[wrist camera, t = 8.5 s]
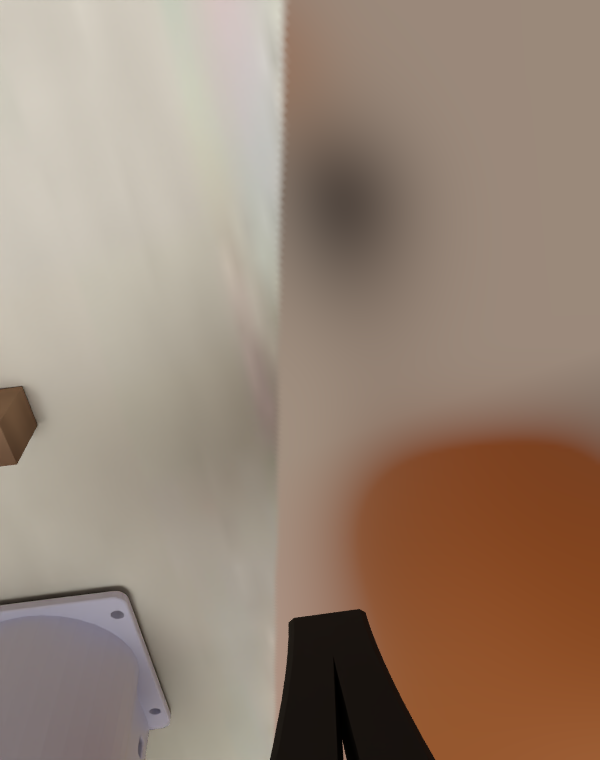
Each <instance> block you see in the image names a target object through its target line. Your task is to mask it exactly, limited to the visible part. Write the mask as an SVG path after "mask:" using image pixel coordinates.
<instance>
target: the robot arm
mask: <svg viewBox="0 0 600 760" xmlns="http://www.w3.org/2000/svg"><path fill="white" fill-rule="evenodd" d="M170 719H171V714H170V711H169V708H168V705H167V703H166V700H165V697H164V694H163V692H162V689H161V686H160V683H159V681H158V678H157V675H156V672H155V670H154V667H153V664H152V661H151V659H150V656H149V653H148V650H147V648H146V645H145V642H144V639H143V637H142V634H141V631H140V628H139V626H138V623H137V620H136V617H135V615H134V612H133V609H132V606H131V604H130V601H129V598H128V596H127V595H126V594H124V593H123V592H120V591H109V592H101V593H93V594H85V595H77V596H69V597H61V598H53V599H45V600H37V601H29V602H22V603H14V604H6V605H0V760H145V757H146V749H147V742H148V734H149V730H153V729H160V728H165V727H167V726H168V725H169V724H170ZM342 740H343V744H342ZM342 745H344V750H345V754H346V758H347V760H435V759H434V757H433V755H432V753H431V752H430V750H429V748H428V746H427V745H426V743H425V741H424V740H423V738H422V736H421V734H420V732H419V730H418V729H417V726H416V725H415V723H414V721H413V719H412V717H411V715H410V713H409V711H408V710H407V708H406V706H405V704H404V702H403V701H402V698H401V696H400V694H399V692H398V690H397V688H396V686H395V684H394V682H393V680H392V678H391V676H390V674H389V671H388V669H387V667H386V665H385V663H384V661H383V658H382V656H381V654H380V651H379V649H378V647H377V644H376V642H375V639H374V636H373V634H372V631H371V628H370V625H369V622H368V619H367V616H366V613H365V612H364V611H362V610H360V609H357V610H349V611H342V612H335V613H328V614H320V615H312V616H305V617H298V618H293V619H292V620H291V621H290V622H289V640H288V655H287V665H286V674H285V681H284V689H283V695H282V702H281V707H280V713H279V717H278V722H277V728H276V733H275V738H274V743H273V748H272V753H271V757H270V760H343V746H342Z"/></svg>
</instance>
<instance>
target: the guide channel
mask: <svg viewBox="0 0 600 760" xmlns="http://www.w3.org/2000/svg"><path fill="white" fill-rule="evenodd" d="M36 427H37V423H36V421H35V418H34V416H33V413H32V411H31V408H30V406H29V403H28V400H27V398H26V395H25V393H24V390H23V388H22V387H14V388H6V389H0V466H7V465H16V464H17V463H18V461H19V459H20V457H21V456H22V454H23V452H24V450H25V448H26V446H27V444H28V442H29V440H30V438H31V436H32V435H33V433H34V431H35V429H36Z"/></svg>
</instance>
